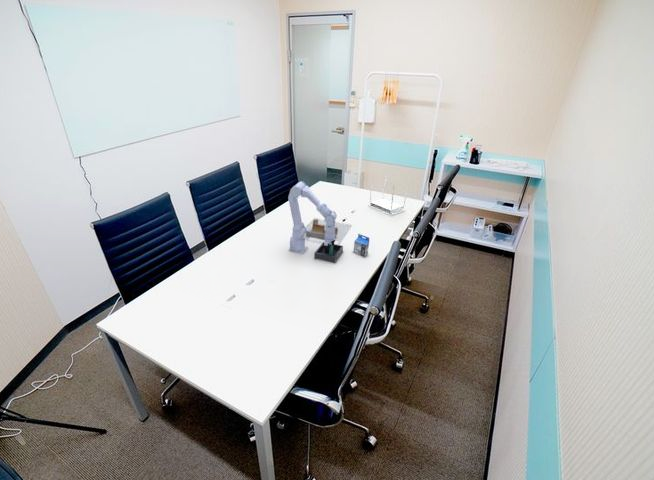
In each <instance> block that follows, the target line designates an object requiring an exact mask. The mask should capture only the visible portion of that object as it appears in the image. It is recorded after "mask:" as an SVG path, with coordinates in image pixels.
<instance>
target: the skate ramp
mask: <svg viewBox="0 0 654 480" xmlns="http://www.w3.org/2000/svg"><path fill="white" fill-rule="evenodd" d="M305 228H306V233H305V241H309V239H311V238H314V239H318V240H324V241H325V230H326V222H325V219H324V220H323V219H319V217H314V218H313V220H312V221H311V222H310V223H309V224H308V225H307V226H306V227H305ZM350 228H351V224H346V223H341V222H335V237H336V240H335V242H341V241H342V239H343V238H344V236H345V235H346V233H347V232H348V230H349V229H350Z"/></svg>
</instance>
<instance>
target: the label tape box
mask: <svg viewBox="0 0 654 480" xmlns="http://www.w3.org/2000/svg"><path fill="white" fill-rule="evenodd" d="M369 246H370V237H368V236H366V235H363V234H361V233H357V237H356V238H355V240H354V242H353V250H352V251H353V254H356V255H358V256H362V257H364V258H365V257H367V256H368V253H369Z"/></svg>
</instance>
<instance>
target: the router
mask: <svg viewBox="0 0 654 480" xmlns="http://www.w3.org/2000/svg"><path fill="white" fill-rule="evenodd" d="M384 179H385V181H384V185H383V191H382V196H381V198H380V199H377V200H374V201H372V190H373V189H372V186H373V178H370V192H369V205H368V207H369V208H372V209H374V210H377V211H379V212H381V213H383V214H386V215H388V216H391V217H392V216H395V215H397V214H400V213H402V212H405V209H404V208H405V204H406V199H407V195H408V190H409V186H410V182H411V181H407V186H406V191H405V196H404V200H403V204H400V203H397V202H394V194H395V192H394V191H395V185H393V186H392V192H391V193H392V194H391V200H388V199H386V198H384V196H385V195H384V194H385V190H386V186H387V185H386V184H387V179H388V174H386V175H385V178H384Z"/></svg>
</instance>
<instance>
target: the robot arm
mask: <svg viewBox="0 0 654 480" xmlns="http://www.w3.org/2000/svg"><path fill="white" fill-rule="evenodd" d="M299 197H300V198H307V199H308V200H309V201H310V202H311V203H312V204H313V205H314V206H315V207H316V209H315V210H317V212H318V213H319V214H320V215H321V216H322V217H323V218H324V221H325V222H326V230H325V240H324V241H323V242H322V243H321V244H322V245H323V247H324V249H325V253H326V254H329V251H330V247H331V244H329V242H331V243H332V246H334V244H335V242H336V241H335V240H336V237H335V223H336V219H337V213H336V211H334V210H332V209H330V207H328V206H327V203H325V202H321V201H320V199H318V198H317V196H316V195H315V194H314V193H313V191H311V189H310V187H309V185H307V184H306V182H305V181H298V182H297V183H296V184H295V185H293V186H292V188H290V189H289V194H288V197H287V199H288V204H289V208H290V214H291V217H292V218H291V219H292V224H293V227H292V235H291V236H290V238H289V251H291V252H295V253H299V254H304V253H305V252H306V250H307V249H308V247H307V246H306V240H305V233H306V228H307V227H306V226H305V223H304V222H303V221H302V216H301V211H300V205H299V200H298V198H299Z"/></svg>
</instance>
